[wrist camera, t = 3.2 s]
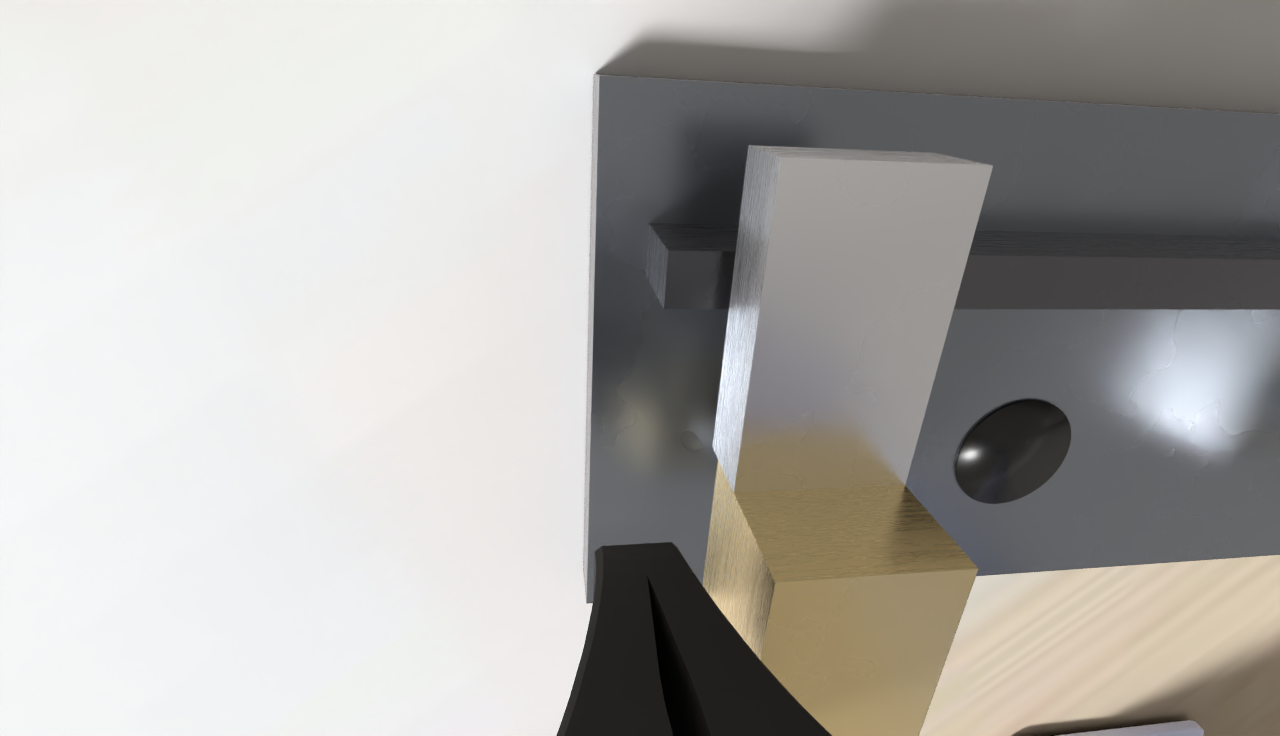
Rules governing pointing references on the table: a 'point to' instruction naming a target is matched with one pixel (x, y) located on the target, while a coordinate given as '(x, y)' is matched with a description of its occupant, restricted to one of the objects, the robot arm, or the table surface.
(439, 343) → the table surface
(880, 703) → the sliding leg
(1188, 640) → the table surface
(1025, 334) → the plate
